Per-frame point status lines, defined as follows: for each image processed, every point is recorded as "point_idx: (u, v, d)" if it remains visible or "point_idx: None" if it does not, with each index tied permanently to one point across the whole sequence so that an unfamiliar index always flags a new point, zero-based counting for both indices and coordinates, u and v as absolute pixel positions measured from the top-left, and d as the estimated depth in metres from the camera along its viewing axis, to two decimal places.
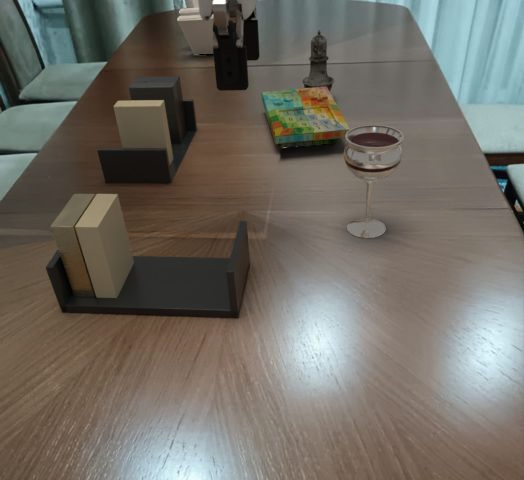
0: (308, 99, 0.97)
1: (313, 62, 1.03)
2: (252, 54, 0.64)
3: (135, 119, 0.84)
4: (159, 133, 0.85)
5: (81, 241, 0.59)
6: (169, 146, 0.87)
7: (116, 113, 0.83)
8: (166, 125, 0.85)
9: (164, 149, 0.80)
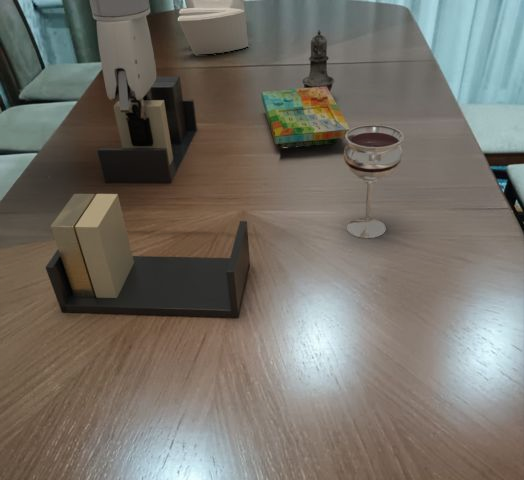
0: (308, 98, 0.97)
1: (313, 62, 1.03)
2: None
3: None
4: (159, 133, 0.85)
5: (81, 241, 0.59)
6: (169, 146, 0.87)
7: (116, 113, 0.83)
8: (166, 125, 0.85)
9: (164, 149, 0.80)
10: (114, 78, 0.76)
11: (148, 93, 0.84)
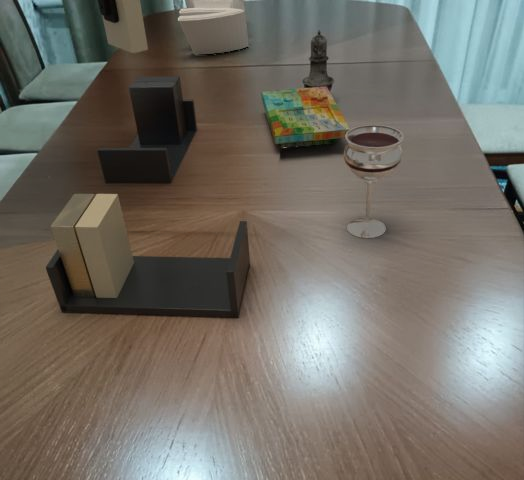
0: (308, 98, 0.97)
1: (313, 62, 1.03)
2: None
3: None
4: (121, 9, 0.73)
5: (81, 241, 0.59)
6: (137, 30, 0.74)
7: None
8: (134, 3, 0.72)
9: (164, 149, 0.80)
10: None
11: None
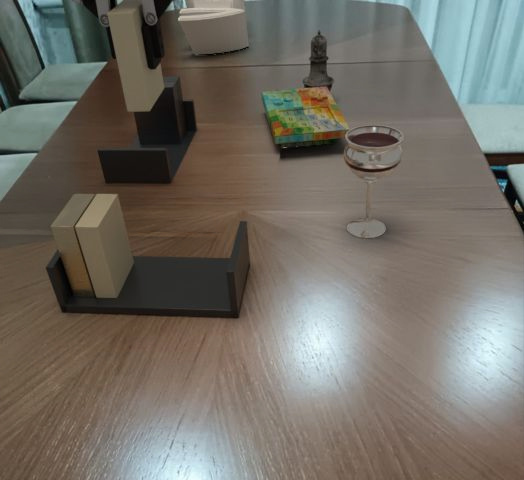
0: (308, 98, 0.97)
1: (313, 62, 1.03)
2: None
3: None
4: None
5: (81, 241, 0.59)
6: (134, 86, 0.57)
7: None
8: (130, 52, 0.55)
9: (164, 149, 0.80)
10: None
11: None
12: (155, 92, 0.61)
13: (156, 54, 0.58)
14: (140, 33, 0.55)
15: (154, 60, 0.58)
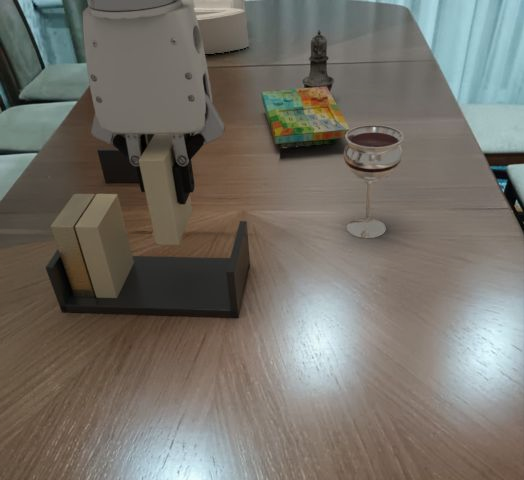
0: (308, 98, 0.97)
1: (313, 62, 1.03)
2: None
3: None
4: None
5: (81, 241, 0.59)
6: (164, 223, 0.56)
7: None
8: (160, 194, 0.54)
9: None
10: None
11: (172, 141, 0.53)
12: (184, 222, 0.60)
13: (186, 190, 0.57)
14: (171, 174, 0.54)
15: (184, 195, 0.57)
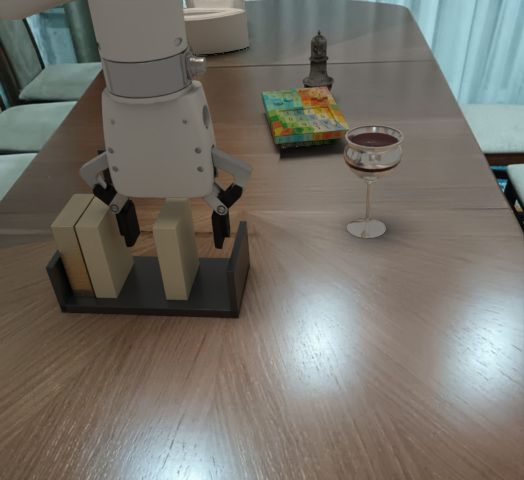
0: (308, 98, 0.97)
1: (313, 62, 1.03)
2: None
3: None
4: None
5: (81, 241, 0.59)
6: (174, 281, 0.61)
7: None
8: (171, 257, 0.59)
9: None
10: None
11: None
12: (192, 277, 0.64)
13: (223, 235, 0.60)
14: (181, 238, 0.59)
15: (221, 241, 0.60)
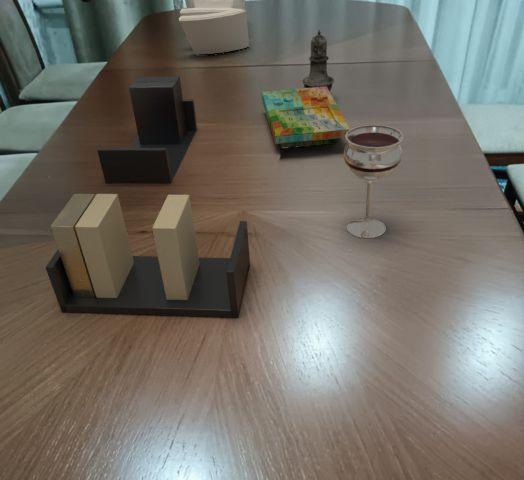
0: (308, 98, 0.97)
1: (313, 62, 1.03)
2: None
3: None
4: None
5: (81, 241, 0.59)
6: (174, 281, 0.61)
7: None
8: (171, 257, 0.59)
9: (164, 149, 0.80)
10: None
11: None
12: (192, 277, 0.64)
13: None
14: (181, 238, 0.59)
15: None
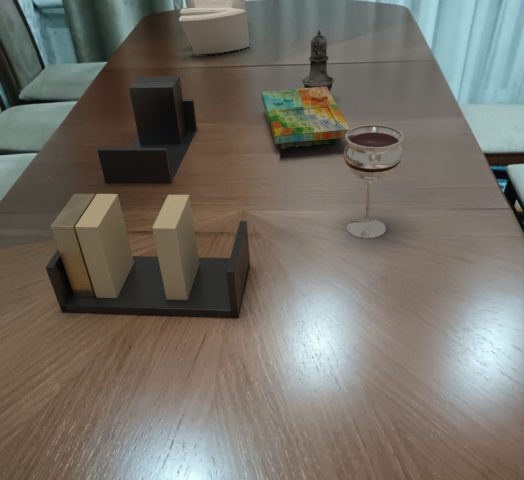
0: (308, 98, 0.97)
1: (313, 62, 1.03)
2: None
3: None
4: None
5: (81, 241, 0.59)
6: (174, 281, 0.61)
7: None
8: (171, 257, 0.59)
9: (164, 149, 0.80)
10: None
11: None
12: (192, 277, 0.64)
13: None
14: (181, 238, 0.59)
15: None
